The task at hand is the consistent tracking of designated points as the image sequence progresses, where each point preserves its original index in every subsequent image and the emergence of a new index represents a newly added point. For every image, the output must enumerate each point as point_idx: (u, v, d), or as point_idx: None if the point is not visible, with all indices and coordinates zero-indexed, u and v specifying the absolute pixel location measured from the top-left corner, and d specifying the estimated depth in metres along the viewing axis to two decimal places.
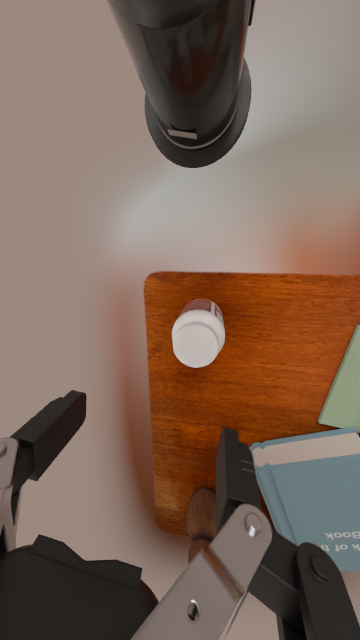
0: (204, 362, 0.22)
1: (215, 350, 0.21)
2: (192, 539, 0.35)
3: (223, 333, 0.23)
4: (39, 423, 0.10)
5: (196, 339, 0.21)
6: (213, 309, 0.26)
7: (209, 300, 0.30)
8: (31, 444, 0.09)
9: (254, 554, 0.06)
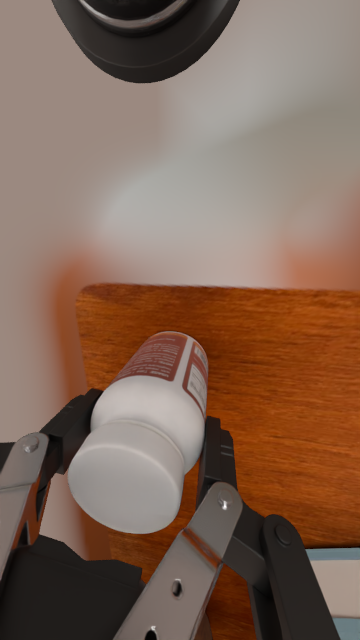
0: (145, 525, 0.09)
1: (173, 506, 0.08)
2: None
3: (199, 434, 0.10)
4: (65, 419, 0.10)
5: (122, 477, 0.08)
6: (184, 364, 0.13)
7: (184, 335, 0.17)
8: (60, 439, 0.09)
9: (224, 523, 0.07)
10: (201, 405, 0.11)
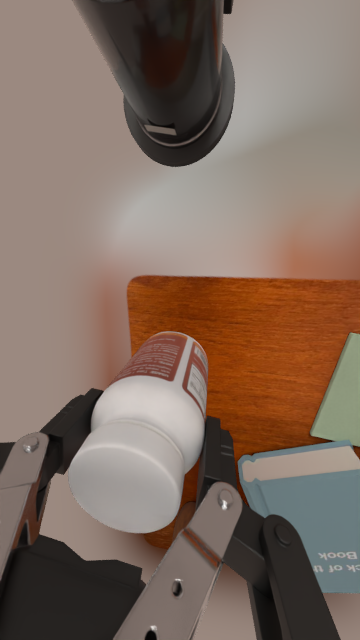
0: (146, 524, 0.09)
1: (173, 505, 0.08)
2: None
3: (199, 434, 0.10)
4: (65, 419, 0.10)
5: (123, 477, 0.08)
6: (184, 364, 0.13)
7: (184, 335, 0.17)
8: (60, 439, 0.09)
9: (223, 523, 0.07)
10: (201, 405, 0.12)
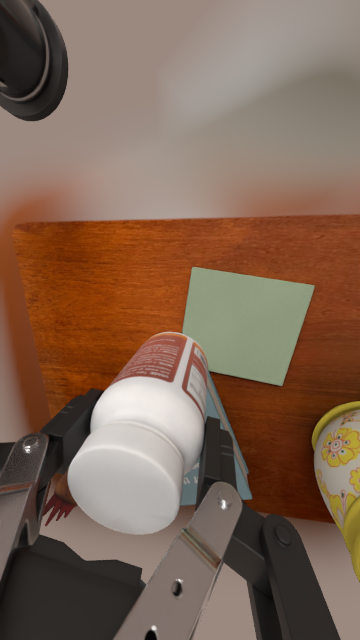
0: (145, 526, 0.09)
1: (172, 507, 0.08)
2: None
3: (199, 435, 0.10)
4: (65, 419, 0.10)
5: (122, 478, 0.08)
6: (184, 365, 0.13)
7: (183, 336, 0.17)
8: (60, 439, 0.09)
9: (223, 523, 0.07)
10: (201, 406, 0.12)
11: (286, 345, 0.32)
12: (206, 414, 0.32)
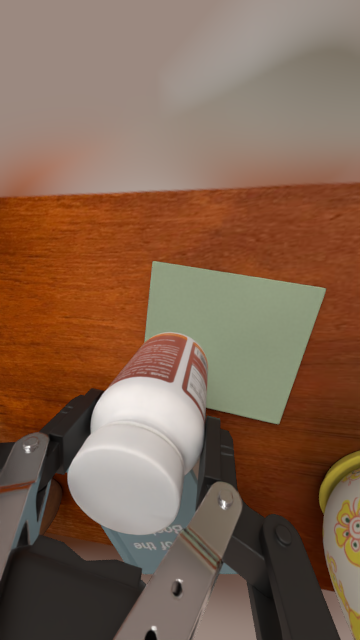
0: (145, 526, 0.09)
1: (172, 508, 0.08)
2: None
3: (199, 435, 0.10)
4: (65, 419, 0.10)
5: (122, 478, 0.08)
6: (184, 365, 0.13)
7: (183, 336, 0.17)
8: (60, 439, 0.09)
9: (223, 523, 0.07)
10: (201, 406, 0.12)
11: (285, 371, 0.23)
12: None
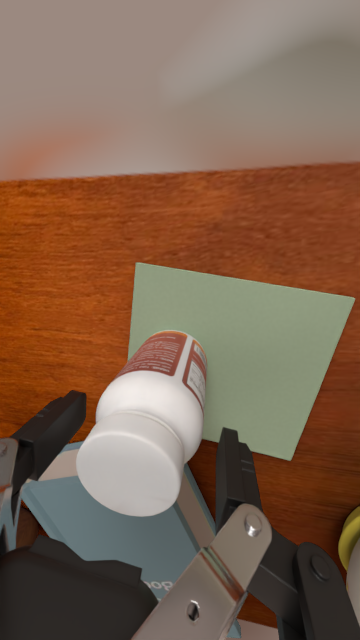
0: (148, 508, 0.09)
1: (173, 489, 0.09)
2: None
3: (198, 425, 0.11)
4: (39, 423, 0.10)
5: (127, 463, 0.09)
6: (184, 361, 0.14)
7: (183, 334, 0.18)
8: (31, 444, 0.09)
9: (254, 554, 0.06)
10: (200, 399, 0.12)
11: (299, 398, 0.19)
12: (160, 517, 0.18)
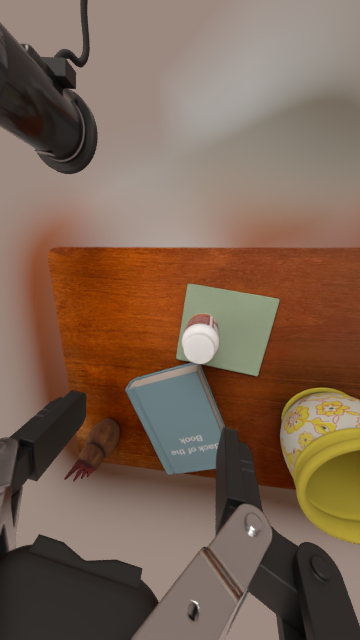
0: (204, 360, 0.32)
1: (212, 352, 0.32)
2: None
3: (218, 340, 0.34)
4: (39, 423, 0.10)
5: (199, 344, 0.32)
6: (211, 322, 0.37)
7: (208, 314, 0.40)
8: (31, 444, 0.09)
9: (254, 554, 0.06)
10: (218, 334, 0.35)
11: (260, 344, 0.41)
12: (197, 396, 0.41)
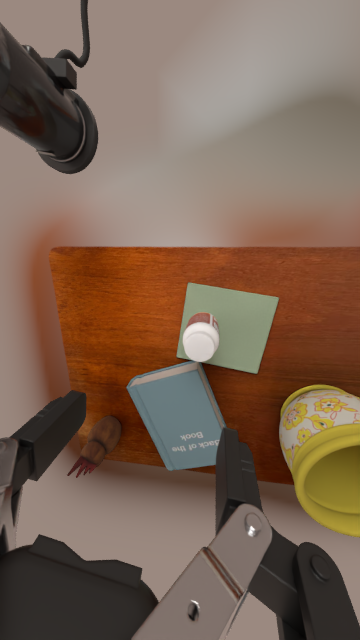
0: (205, 358, 0.33)
1: (212, 350, 0.32)
2: None
3: (218, 338, 0.34)
4: (39, 423, 0.10)
5: (200, 343, 0.32)
6: (211, 321, 0.37)
7: (208, 313, 0.41)
8: (31, 444, 0.09)
9: (254, 554, 0.06)
10: (218, 332, 0.36)
11: (259, 342, 0.42)
12: (198, 394, 0.42)
